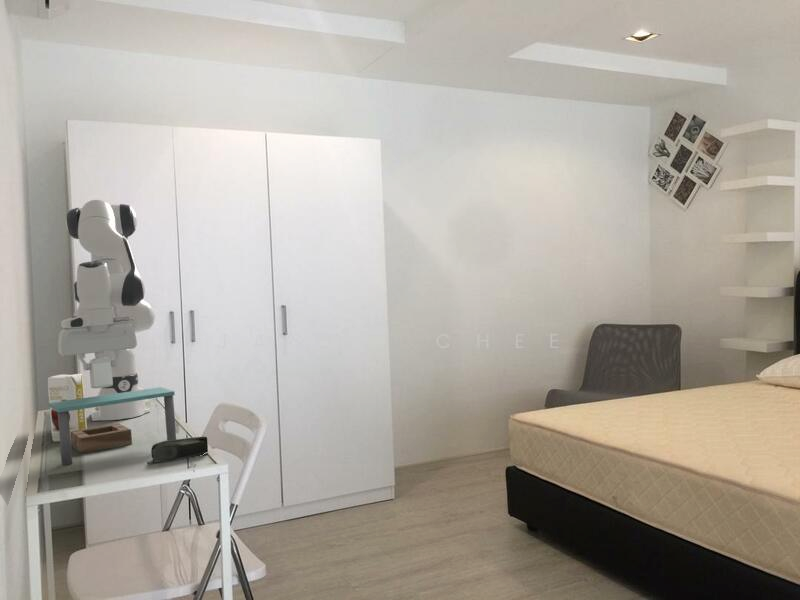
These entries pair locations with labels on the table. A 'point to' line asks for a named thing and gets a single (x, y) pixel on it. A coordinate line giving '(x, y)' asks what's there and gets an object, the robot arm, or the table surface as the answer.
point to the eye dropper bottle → (100, 371)
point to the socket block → (101, 437)
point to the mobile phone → (178, 449)
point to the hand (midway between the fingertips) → (100, 368)
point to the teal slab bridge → (109, 399)
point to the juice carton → (66, 390)
